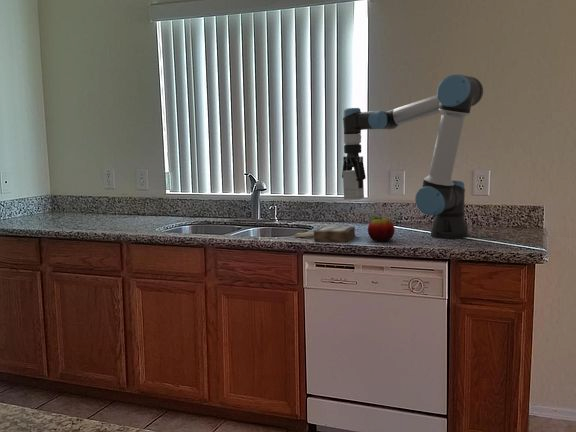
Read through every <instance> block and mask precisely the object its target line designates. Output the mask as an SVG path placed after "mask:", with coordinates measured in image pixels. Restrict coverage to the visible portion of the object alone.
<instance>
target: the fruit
mask: <svg viewBox="0 0 576 432" xmlns="http://www.w3.org/2000/svg"><path fill="white" fill-rule="evenodd" d="M367 218H368V219H372V220H371V221H370V222H369V224H368V227H367V234H368V235H369V236H368V237H370V239H371V240H372V241H374V242H379V243H381V242H382V243H383V242H389V241H390V240H392V238H393V237H394V234H395V226H394V224H393V222H392V221H391V220H390V218H387V217H382V216H375V215H371V216H369V217H367Z"/></svg>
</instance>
